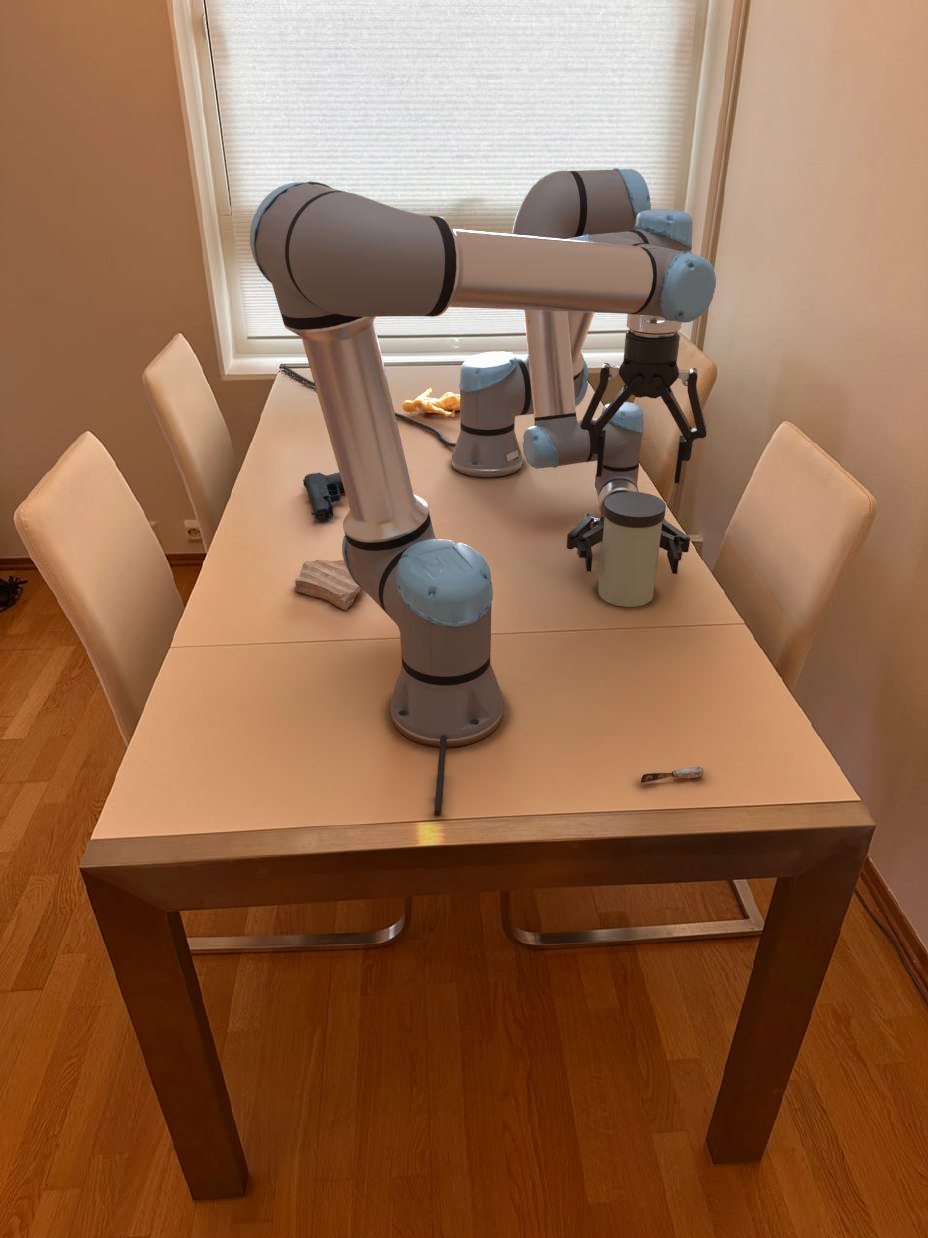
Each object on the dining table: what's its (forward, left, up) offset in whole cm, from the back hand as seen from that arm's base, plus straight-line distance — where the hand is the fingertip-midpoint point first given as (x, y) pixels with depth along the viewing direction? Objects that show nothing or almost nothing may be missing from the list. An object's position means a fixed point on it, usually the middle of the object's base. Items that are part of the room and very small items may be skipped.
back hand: (632, 565), depth 142 cm
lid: (-3, +1, +9) cm, 10 cm away
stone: (-21, -44, -7) cm, 49 cm away
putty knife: (+39, -17, -7) cm, 43 cm away
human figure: (-99, +6, -7) cm, 100 cm away
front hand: (-3, +1, +14) cm, 14 cm away
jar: (-3, +1, -7) cm, 7 cm away
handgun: (-56, -35, -7) cm, 66 cm away
